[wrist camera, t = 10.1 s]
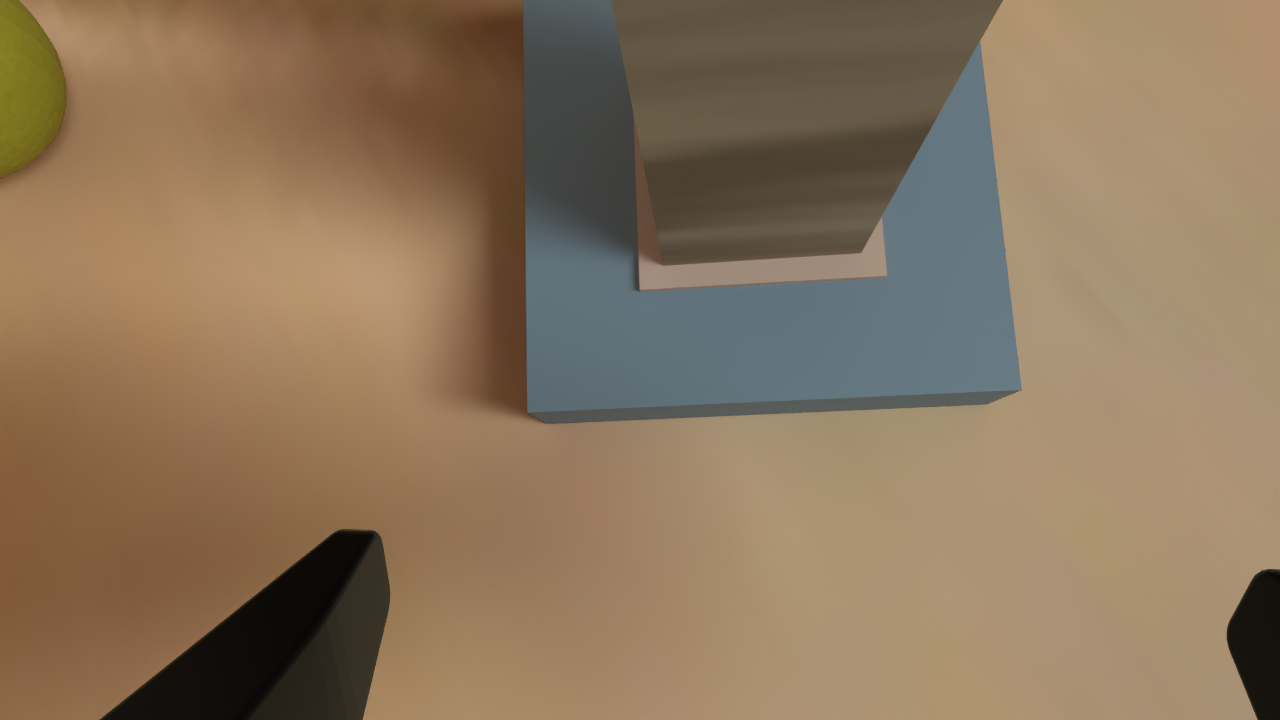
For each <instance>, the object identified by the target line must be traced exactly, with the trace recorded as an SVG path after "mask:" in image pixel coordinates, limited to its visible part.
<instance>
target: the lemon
mask: <svg viewBox="0 0 1280 720" xmlns="http://www.w3.org/2000/svg"><path fill="white" fill-rule="evenodd" d="M65 108H66V81H65V76H64V73H63V70H62V66H61V63H60V60H59V57H58V54H57V51H56V50H55V48H54V46H53V44H52V42H51V41H50V39H49V38H48V36H47V35H46V33H45V32H44V30H43V29H42V27H41V26H40V24H39V23H38V22H37V20H36V19H35V18H34V16H33V15H32V14H31V13H30V12H29V11H28V9H27V8H26V7H25V6H24V5H23V4H22V3H21V2H20V1H19V0H0V177H2V176H5V175H8V174H10V173H12V172H14V171H16V170H18V169H20V168H22V167H24V166H26V165H28V164H29V163H30V162H31V161H33V160H34V159H35V158H36V157H38V156H39V155H40V154H41V153H43V152H44V151H45V149H46V148H47V147H48V146H49V144H50V143H51V142H52V141H53V139H54V138H55V136H56V134H57V132H58V130H59V128H60V126H61V123H62V120H63V116H64V112H65Z"/></svg>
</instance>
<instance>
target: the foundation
mask: <svg viewBox="0 0 1280 720" xmlns="http://www.w3.org/2000/svg"><path fill="white" fill-rule="evenodd" d="M523 59H524V153H525V247H526V341H527V413H529V414H531V415H532V416H534V417H536V418H538V419H539V420H541V421H543V422H545V423H547V424H556V423H578V422H601V421H623V420H645V419H668V418H690V417H712V416H735V415H757V414H780V413H802V412H824V411H847V410H869V409H891V408H914V407H936V406H958V405H981V404H989V403H991V402H994V401H996V400H998V399H1001V398H1003V397H1006V396H1008V395H1011V394H1013V393H1015V392H1018V391H1020V390H1022V389H1021V381H1020V372H1019V364H1018V355H1017V347H1016V339H1015V330H1014V322H1013V314H1012V305H1011V297H1010V288H1009V280H1008V272H1007V263H1006V255H1005V246H1004V238H1003V230H1002V221H1001V213H1000V205H999V196H998V188H997V179H996V171H995V163H994V154H993V146H992V138H991V129H990V121H989V112H988V104H987V96H986V87H985V79H984V70H983V62H982V54H981V45H980V42H979V44H978V45H977V47H976V49H975V51H974V53H973V54H972V56H971V58H970V60H969V61H968V63H967V65H966V67H965V69H964V70H963V72H962V74H961V76H960V78H959V79H958V81H957V83H956V85H955V86H954V88H953V90H952V92H951V94H950V95H949V97H948V99H947V101H946V103H945V104H944V106H943V108H942V110H941V111H940V113H939V115H938V117H937V119H936V120H935V122H934V124H933V126H932V128H931V129H930V131H929V133H928V135H927V136H926V138H925V140H924V142H923V144H922V145H921V147H920V149H919V151H918V153H917V154H916V156H915V158H914V160H913V161H912V163H911V165H910V167H909V169H908V170H907V172H906V174H905V176H904V178H903V179H902V181H901V183H900V185H899V186H898V188H897V190H896V192H895V194H894V195H893V197H892V199H891V201H890V203H889V204H888V206H887V208H886V210H885V211H884V213H883V215H882V217H881V219H880V220H879V222H878V224H877V226H876V228H875V229H874V231H873V233H872V235H871V236H870V238H869V240H868V242H867V244H866V245H865V247H864V249H863V251H862V253H857V254H841V255H826V256H810V257H794V258H778V259H763V260H747V261H731V262H716V263H700V264H684V265H669V266H663V261H662V256H661V251H660V246H659V241H658V236H657V231H656V226H655V221H654V216H653V210H652V205H651V200H650V195H649V190H648V185H647V180H646V175H645V170H644V165H643V159H642V154H641V149H640V144H639V139H638V134H637V129H636V124H635V119H634V114H633V108H632V103H631V98H630V93H629V88H628V83H627V78H626V73H625V68H624V62H623V57H622V52H621V47H620V42H619V37H618V32H617V27H616V22H615V17H614V11H613V6H612V1H611V0H523Z"/></svg>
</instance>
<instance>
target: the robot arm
mask: <svg viewBox="0 0 1280 720" xmlns="http://www.w3.org/2000/svg"><path fill="white" fill-rule="evenodd" d="M389 604H390V585H389V579H388V573H387V567H386V561H385V555H384V549H383V543H382V539H381V537H380V535H379V534H378V533H377V532H375V531H373V530H356V529H341V530H338V531H336V532H334V533H333V534H331V535H330V536H329V537H327V538H326V539H325V540H324V541H322V542H321V543H320V544H319V545H317V546H316V547H315V548H314V549H312V550H311V551H310V552H309V553H307V554H306V555H305V556H304V557H302V558H301V559H300V560H299V561H297V562H296V563H295V564H294V565H292V566H291V567H290V568H289V569H287V570H286V571H285V572H284V573H282V574H281V575H280V576H279V577H277V578H276V579H275V580H274V581H272V582H271V583H270V584H269V585H267V586H266V587H265V588H264V589H262V590H261V591H260V592H259V593H257V594H256V595H255V596H254V597H252V598H251V599H250V600H249V601H247V602H246V603H245V604H244V605H242V606H241V607H240V608H239V609H237V610H236V611H235V612H234V613H232V614H231V615H230V616H229V617H227V618H226V619H225V620H224V621H222V622H221V623H220V624H219V625H217V626H216V627H215V628H214V629H212V630H211V631H210V632H209V633H207V634H206V635H205V636H204V637H202V638H201V639H200V640H199V641H197V642H196V643H195V644H194V645H192V646H191V647H190V648H189V649H187V650H186V651H185V652H184V653H182V654H181V655H180V656H179V657H177V658H176V659H175V660H174V661H172V662H171V663H170V664H169V665H167V666H166V667H165V668H164V669H162V670H161V671H160V672H159V673H157V674H156V675H155V676H154V677H152V678H151V679H150V680H149V681H147V682H146V683H145V684H144V685H142V686H141V687H140V688H139V689H137V690H136V691H135V692H134V693H132V694H131V695H130V696H129V697H127V698H126V699H125V700H124V701H122V702H121V703H120V704H119V705H117V706H116V707H115V708H114V709H112V710H111V711H110V712H109V713H107V714H106V715H105V716H104V717H102V718H101V719H100V720H363V716H364V712H365V707H366V703H367V699H368V695H369V691H370V686H371V682H372V678H373V674H374V670H375V665H376V661H377V657H378V653H379V648H380V644H381V640H382V636H383V632H384V627H385V623H386V619H387V615H388V610H389ZM1227 642H1228V647H1229V650H1230V653H1231V655H1232V658H1233V660H1234V663H1235V665H1236V668H1237V670H1238V673H1239V675H1240V678H1241V680H1242V682H1243V685H1244V687H1245V690H1246V692H1247V695H1248V697H1249V700H1250V702H1251V705H1252V707H1253V710H1254V712H1255V714H1256V717H1257V719H1258V720H1280V569H1266V570H1262V571H1261V572H1259V573H1258V574H1256V575H1255V576H1254V577H1253V579H1252V580H1251V582H1250V584H1249V586H1248V588H1247V590H1246V592H1245V593H1244V595H1243V597H1242V599H1241V601H1240V603H1239V604H1238V606H1237V608H1236V610H1235V612H1234V614H1233V616H1232V617H1231V619H1230V621H1229V624H1228V627H1227Z"/></svg>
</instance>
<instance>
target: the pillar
mask: <svg viewBox="0 0 1280 720" xmlns="http://www.w3.org/2000/svg"><path fill="white" fill-rule="evenodd" d="M611 1H612V6H613V11H614V17H615V22H616V27H617V32H618V37H619V42H620V47H621V52H622V57H623V62H624V68H625V73H626V78H627V83H628V88H629V93H630V98H631V103H632V108H633V114H634V119H635V124H636V129H637V134H638V139H639V144H640V149H641V154H642V159H643V165H644V170H645V175H646V180H647V185H648V190H649V195H650V200H651V205H652V210H653V216H654V221H655V226H656V231H657V236H658V241H659V246H660V251H661V256H662V261H663V266H669V265H684V264H700V263H716V262H731V261H747V260H763V259H778V258H794V257H810V256H826V255H841V254H857V253H862V251H863V249H864V247H865V245H866V244H867V242H868V240H869V238H870V236H871V235H872V233H873V231H874V229H875V228H876V226H877V224H878V222H879V220H880V219H881V217H882V215H883V213H884V211H885V210H886V208H887V206H888V204H889V203H890V201H891V199H892V197H893V195H894V194H895V192H896V190H897V188H898V186H899V185H900V183H901V181H902V179H903V178H904V176H905V174H906V172H907V170H908V169H909V167H910V165H911V163H912V161H913V160H914V158H915V156H916V154H917V153H918V151H919V149H920V147H921V145H922V144H923V142H924V140H925V138H926V136H927V135H928V133H929V131H930V129H931V128H932V126H933V124H934V122H935V120H936V119H937V117H938V115H939V113H940V111H941V110H942V108H943V106H944V104H945V103H946V101H947V99H948V97H949V95H950V94H951V92H952V90H953V88H954V86H955V85H956V83H957V81H958V79H959V78H960V76H961V74H962V72H963V70H964V69H965V67H966V65H967V63H968V61H969V60H970V58H971V56H972V54H973V53H974V51H975V49H976V47H977V45H978V44H979V42H980V40H981V38H982V36H983V35H984V33H985V31H986V29H987V28H988V26H989V24H990V22H991V20H992V19H993V17H994V15H995V13H996V11H997V10H998V8H999V6H1000V4H1001V3H1002V1H1003V0H611Z"/></svg>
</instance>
